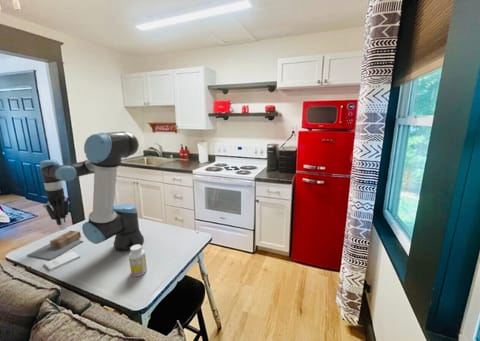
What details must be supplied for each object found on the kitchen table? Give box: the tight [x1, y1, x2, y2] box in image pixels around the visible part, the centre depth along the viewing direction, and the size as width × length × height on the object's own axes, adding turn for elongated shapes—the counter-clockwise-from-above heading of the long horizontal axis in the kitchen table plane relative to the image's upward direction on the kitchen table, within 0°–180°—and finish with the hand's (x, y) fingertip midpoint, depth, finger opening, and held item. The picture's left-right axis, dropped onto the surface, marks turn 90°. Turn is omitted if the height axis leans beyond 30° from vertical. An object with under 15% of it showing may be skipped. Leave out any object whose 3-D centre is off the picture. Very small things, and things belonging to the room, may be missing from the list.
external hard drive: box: [43, 250, 81, 272], centre depth 115 cm, size 2×8×12 cm
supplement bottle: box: [128, 244, 148, 277], centre depth 105 cm, size 7×7×13 cm
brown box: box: [49, 230, 82, 248], centre depth 131 cm, size 7×4×12 cm
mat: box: [26, 239, 84, 261], centre depth 126 cm, size 16×18×1 cm
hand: (62, 229), depth 128 cm, fingers closed
